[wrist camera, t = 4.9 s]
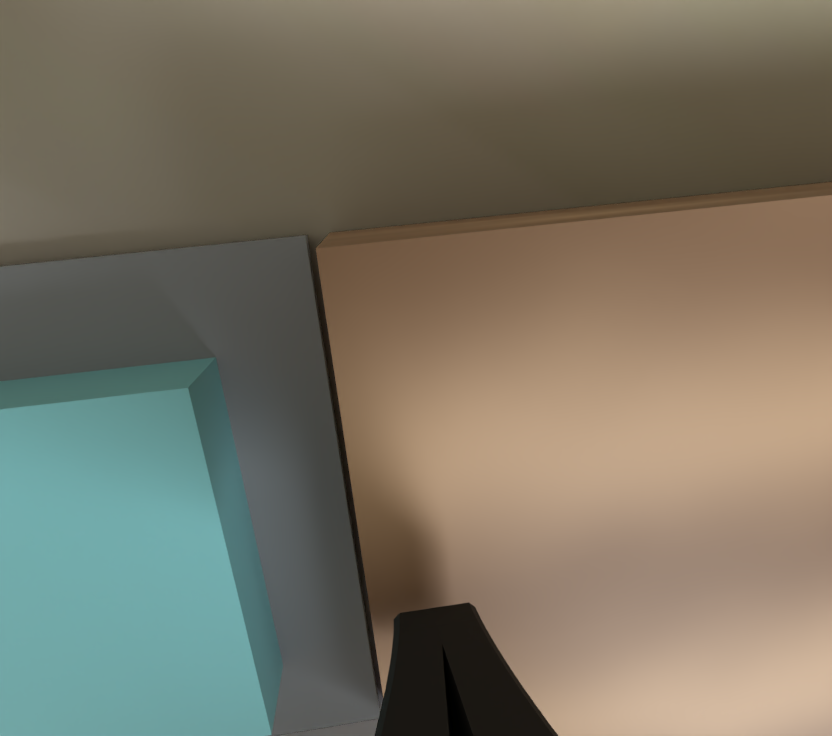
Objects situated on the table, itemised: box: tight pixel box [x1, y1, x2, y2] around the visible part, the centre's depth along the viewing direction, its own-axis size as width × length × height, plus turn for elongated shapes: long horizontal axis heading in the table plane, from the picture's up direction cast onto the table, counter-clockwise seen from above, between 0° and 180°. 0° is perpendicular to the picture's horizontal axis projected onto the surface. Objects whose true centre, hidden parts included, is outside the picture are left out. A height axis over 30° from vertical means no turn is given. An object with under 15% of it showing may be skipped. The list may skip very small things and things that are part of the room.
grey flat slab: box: [0, 235, 380, 736], centre depth 13 cm, size 14×11×1 cm
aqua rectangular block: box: [0, 357, 283, 736], centre depth 12 cm, size 9×6×2 cm, turn 5°
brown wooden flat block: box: [316, 182, 832, 736], centre depth 12 cm, size 14×16×4 cm
